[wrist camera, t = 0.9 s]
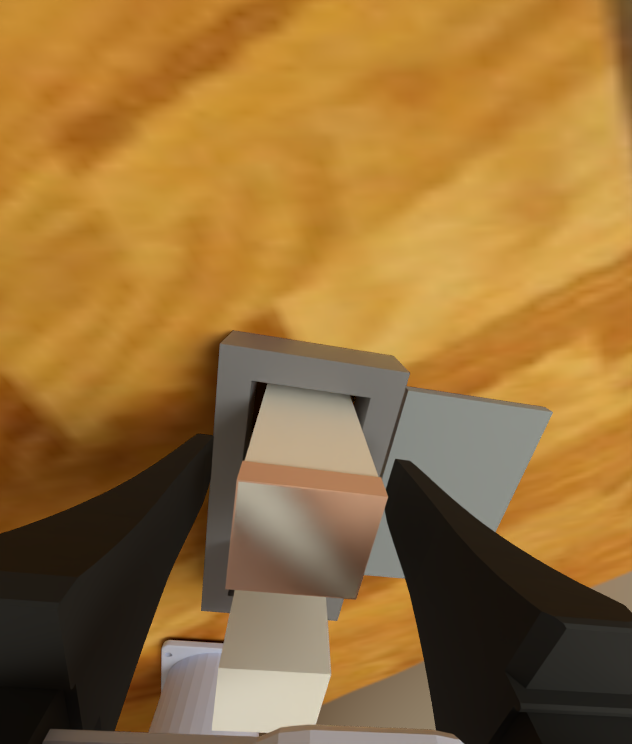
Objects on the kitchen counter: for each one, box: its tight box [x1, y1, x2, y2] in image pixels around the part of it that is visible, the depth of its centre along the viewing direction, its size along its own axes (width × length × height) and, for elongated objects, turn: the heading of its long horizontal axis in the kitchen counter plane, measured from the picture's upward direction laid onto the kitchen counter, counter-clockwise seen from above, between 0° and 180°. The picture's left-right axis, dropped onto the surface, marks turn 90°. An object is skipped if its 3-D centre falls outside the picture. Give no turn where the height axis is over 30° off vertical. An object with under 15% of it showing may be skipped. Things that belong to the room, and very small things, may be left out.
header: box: [201, 330, 410, 621], centre depth 16 cm, size 16×8×2 cm, turn 170°
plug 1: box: [225, 383, 388, 600], centre depth 13 cm, size 4×4×8 cm
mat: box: [364, 386, 553, 578], centre depth 18 cm, size 13×8×1 cm, turn 170°
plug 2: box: [212, 590, 331, 733], centre depth 15 cm, size 4×4×8 cm
